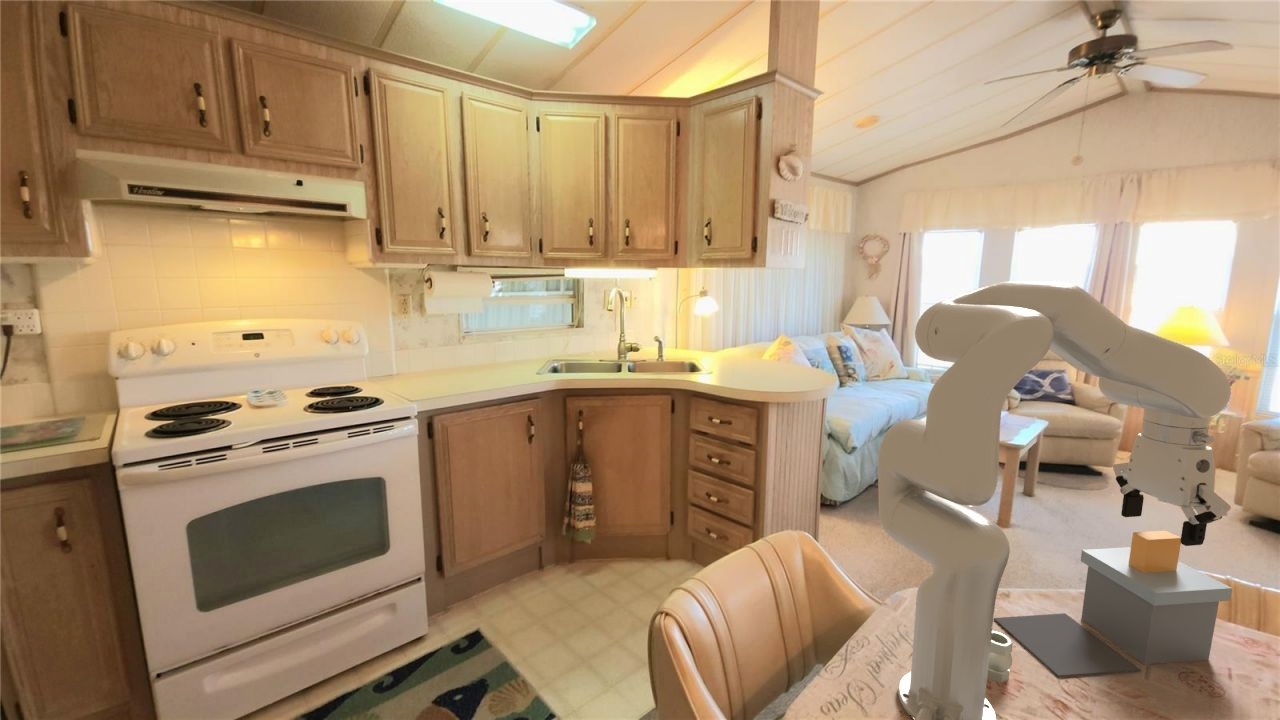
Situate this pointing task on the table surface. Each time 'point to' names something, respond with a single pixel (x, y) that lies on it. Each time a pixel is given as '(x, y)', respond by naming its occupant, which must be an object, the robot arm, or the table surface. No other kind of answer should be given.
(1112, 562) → the lid
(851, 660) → the table surface
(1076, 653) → the mat
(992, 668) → the valve
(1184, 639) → the tub
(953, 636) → the robot arm
